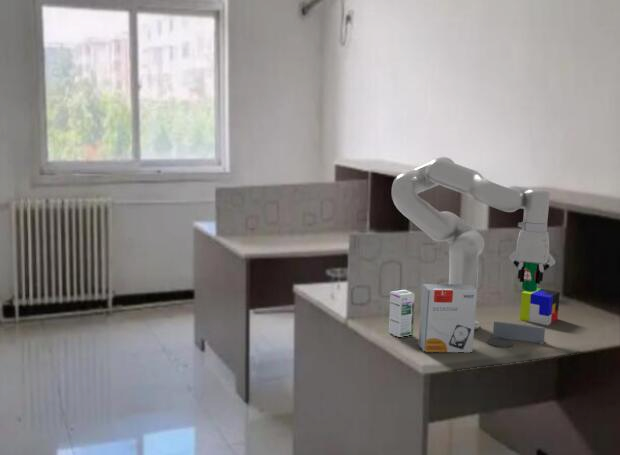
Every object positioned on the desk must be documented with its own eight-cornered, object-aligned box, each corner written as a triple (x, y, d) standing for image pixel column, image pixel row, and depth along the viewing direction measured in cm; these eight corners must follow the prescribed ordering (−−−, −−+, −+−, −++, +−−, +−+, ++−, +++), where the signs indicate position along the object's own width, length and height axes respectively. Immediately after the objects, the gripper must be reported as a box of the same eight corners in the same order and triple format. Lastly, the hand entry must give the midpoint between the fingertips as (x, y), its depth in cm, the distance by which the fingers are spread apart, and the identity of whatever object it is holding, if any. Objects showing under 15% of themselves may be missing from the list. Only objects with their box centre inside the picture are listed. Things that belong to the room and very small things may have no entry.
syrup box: (399, 338, 243) (401, 294, 241) (388, 333, 248) (390, 290, 246) (413, 336, 246) (415, 292, 244) (401, 331, 251) (403, 288, 249)
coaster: (485, 345, 239) (485, 343, 239) (488, 337, 246) (489, 336, 246) (511, 348, 236) (511, 346, 236) (514, 341, 243) (514, 339, 243)
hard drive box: (423, 353, 230) (427, 289, 226) (417, 345, 237) (421, 283, 234) (473, 353, 232) (477, 289, 228) (466, 344, 239) (470, 283, 236)
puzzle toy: (547, 325, 262) (549, 297, 260) (519, 319, 268) (521, 292, 266) (557, 319, 270) (559, 292, 268) (530, 313, 276) (532, 287, 274)
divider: (492, 337, 247) (493, 322, 246) (493, 334, 250) (494, 320, 249) (543, 344, 241) (544, 329, 240) (544, 341, 244) (545, 326, 243)
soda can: (517, 289, 249) (520, 253, 247) (529, 287, 251) (533, 252, 249) (528, 292, 245) (531, 256, 243) (540, 291, 247) (543, 255, 245)
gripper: (506, 226, 244) (501, 281, 247) (561, 231, 238) (556, 288, 241) (509, 223, 251) (504, 276, 254) (563, 228, 245) (557, 282, 248)
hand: (529, 281), depth 248 cm, fingers closed on soda can, 5 cm apart
